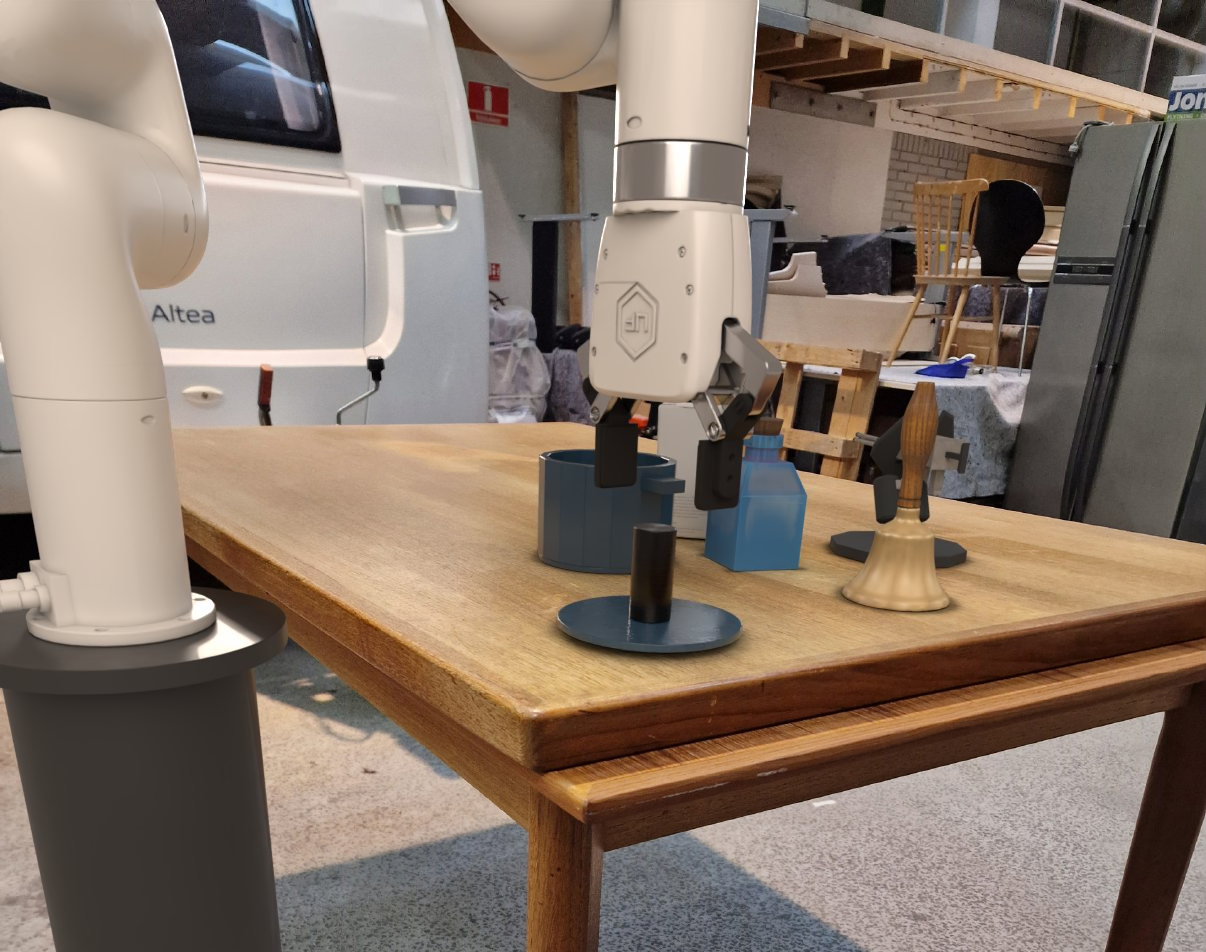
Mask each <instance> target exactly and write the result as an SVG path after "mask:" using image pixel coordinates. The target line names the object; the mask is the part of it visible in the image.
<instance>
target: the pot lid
mask: <svg viewBox="0 0 1206 952" xmlns="http://www.w3.org/2000/svg"><path fill="white" fill-rule="evenodd" d="M677 538H678V537H677V528H676V527H674V526H670V525H665V524H655V523H645V524H638V525H635V526H634V533H633V551H632V568H631V574H630V586H629V587H630V588H629V594H627V595H609V596H597V597H591V598H586V599H581V600H577V601H574V602H571V603H568V604H566V605H564V606H563V607H561V608H560V609H559V610H558V612H557V614H556V623H557V624H556V625H557V627H559V629H560V630H561V631H562V632H564V634H567V635H568V636H570V637H573V638H575V639H577V640H580V641H583V642H585V643H589V644H593V645H596V646H601V647H605V648H611V649H616V650H620V651H621V650H622V651H627V652H635V653H643V654H644V653H645V654H646V653H647V654H673V653H674V654H676V653H688V652H689V653H691V652H698V651H706V650H713V649H717V648H721V647H724V646H728V645H730V644H732V643H734V642H735V641H737V640H738V639H739V638H740V637H741V636H742V632H743V623H742V621H741V619H740V618H739V617H737V615H735V614H733V613H732V612H730V611H728V610H725V609H723V608H720V607H717V606H714V605H711V604H707V603H703V602H699V601H695V600H689V599H683V598H676V597H673V592H674V591H673V589H674V577H675V576H674V575H675V564H676V563H675V561H676V549H677Z"/></svg>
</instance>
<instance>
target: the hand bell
mask: <svg viewBox="0 0 1206 952" xmlns="http://www.w3.org/2000/svg"><path fill="white" fill-rule="evenodd" d="M936 393H937V392H936V383H935V382H934V381H917V382H916V385H915V388H914V391H913V393H912V396H911V398H910V400H909V402H908V403H907V406H906V409H905V412H904V414H903V416H904V418H903V423H902V430H901V454H902V461H903V475H902V478H901V480H902V481H901V487H900V492H899V497H900V498H899V499H898V502H897V504H898V508H897V513H896V517H895V518H894V519H893V520H892V521H890V522H888V523H886V524H880V525H879V526H878V527H877V528H876V529H875V530H874V531H875V535H874V539H873V543H872V546H871V549H870V552H869V555H868V558H867V560H866V562H864V564H863V566H862V568H861V569H860V570H859V572H858V573H857V574H856V575H855V577H853V578H852V580H851V579H850V581H849V582H846V584H845V585H844V586H843V589H841V594H842V596H843V597H844V598H846V599H848V600H849V601H851V602H854V603H857V604H859V605H863V606H866V607H870V608H876V609H882V610H890V611H902V612H927V611H934V610H935V611H936V610H940V609H944V608H947V607H948V606H949V605H950V603H951V600H950V596H949V594H948V592H947V591H946V590H945V589H944V587H943V586H942V584H941V582H940V580H939V578H938V575H937V570H936V567H935V562H934V540H935V538H936V536H935V532H934V530H933V529H931V528H929V527H928V526H927V525H925V524H924V522H922V523H921V521H920V520H919V514H920V508H919V507H920V504H921V501H920V498H921V492H922V481H923V474H924V470H925V467H926V464H927V462H928V460H929V457H930V455H931V453H932V450H933V447H934V443H935V440H936V435H937V429H938V418H939V416H940V415H939V407H938V400H937V395H936Z"/></svg>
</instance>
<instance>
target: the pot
mask: <svg viewBox="0 0 1206 952" xmlns="http://www.w3.org/2000/svg"><path fill="white" fill-rule="evenodd" d="M594 467H595V448H569V449H555V450H549V451H544V452H542V453H541V454H539V455H538V497H537V500H538V501H537V502H538V503H537V550H536V551H537V553H538V559H539V560H540V561H541V562H543V563H544V564H547V565H549V566H552V567H554V568H559V569H562V570H569V571H574V572H581V573H590V574H602V575H603V574H607V575H610V574H611V575H626V574H627V575H629V574H630V575H631V568H632V551H633V533H634V526H635V525H638V524H645V523H655V524H665V525H670V526H673V511H674V497H675V494H676V493H685V482H686V481H685V480H683V479H678V478H676V469H677V460H675V459H672V458H670V457H666V456H661V455H657V453H656V454H655V453H651V452H642V451H638V455H637V480H636V483H635V484H634V485H633V486H627V487H616V488H605V489H602V488H598V487H596V486H595V484H594Z"/></svg>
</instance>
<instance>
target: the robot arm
mask: <svg viewBox="0 0 1206 952" xmlns="http://www.w3.org/2000/svg"><path fill="white" fill-rule="evenodd" d="M446 1H447V2H448V3H449V5H450V6H451V7H452V8H453V10H454V11H455V13H457V14H458V16H459V17H460V18H461V19H462V21H463V22H464V23H465V24H466V25H467V26H468V28H469V29H470V30H471V31H472V33H474V34H475V36H476V37H478V39H479V40H480V41H481V42H482V43H484V44H485V45H486V46H487V47H488V48H489V49H490V50H492V51H493V52H494V53H495V54H496V55H498V56H499V57H500V59H502V60H503V62H504V63H505V64H506V65H507V66H508V67H509V68H510V69H511V70H513V71H514V72H515V73H516V74H517V75H518V76H519V77H520V78H522V80H524V81H525V82H527V83H529V84H530V85H532V86H534V87H536V88H539V89H541V90H545V91H548V92H554V93H556V92H557V93H569V92H570V93H571V92H579V91H586V90H590V89H596V88H601V87H606V86H612V85H616V86H615V87H616V89H615V91H616V92H615V119H614V120H615V125H614V152H613V153H614V154H613V185H612V186H613V189H612V191H613V192H612V215H609V216H606V217H605V221H604V225H603V230H602V234H601V239H600V243H599V244H600V245H599V248H598V249H599V250H598V255H597V260H596V261H597V262H596V268H595V269H596V270H595V276H594V287H593V295H592V307H591V318H590V319H591V320H590V332H589V333H590V334H589V338H588V339H587V340H586V341H585V342H584V343H583V344H581V345H580V346H579V347H578V348H577V350H576V360H577V364H578V367H579V371H580V375H581V379H582V381H583V382H582V392H583V395H584V397H585V398H586V400H587V403H588V404H589V406H590V408H589V415H588V416H589V419H590V421H591V422H592V424H595V429H594V430H595V432H594V433H595V434H594V449H595V467H594V484H595V486H596V487H598V488H602V489H605V488H616V487H627V486H633V485H634V484H635V483H636V480H637V455H638V452H639V451H638V450H639V432H640V431H639V423H638V422H630V421H632V419H633V417H634V415H635V414H636V413H637V410H638V408H640V405H641V404H642V403H643V401H646V402H647V401H649V402H659V403H664V402H665V403H688V402H690V401H691V403H692V404H693V406H694V408H695V410H696V412H697V415H698V417H699V419H700V421H701V424H702V426H703V428H704V430H705V432H706V435H707V437H708V440H699V444H698V449H697V465H696V480H695V496H694V505H695V507H696V509H698V510H702V511H709V510H718V509H727V508H734V507H736V506H737V505H738V502H739V493H740V480H741V468H742V457H743V454H744V453H743V452H744V445H743V443H744V440H746V439H749V438H751V436H752V435H753V432H754V426H755V424H756V423H757V422H758V421H759V420H760V418H761V417H764V415H765V414H766V413H767V411H768V408H769V399H771V396H772V395H773V392H774V390H775V388H776V386H777V384H778V381H779V379H780V377H781V375H782V372H783V365H782V361H780V360H779V359H778V357H776V356H775V355H774V354H773V353H771V351H770V350H769V349H767V348H766V347H765V346H764V345H762V343H760V342H759V341H758V340H757V339H756V338H755V337H754V336H753V335H752V323H753V322H752V321H753V320H752V315H753V273H752V268H753V267H752V251H751V235H750V226H749V216H748V215H745V214H744V207H745V199H746V198H745V195H746V184H747V183H746V182H747V171H748V169H747V168H748V156H749V153H748V148H749V139H750V129H751V128H750V127H751V113H752V100H753V99H752V98H753V86H754V73H755V60H756V47H757V35H758V34H757V32H758V21H759V19H758V17H759V8H760V7H759V6H760V0H446ZM0 83H3V84H5V85H7V86H10V87H13V88H17V89H20V90H22V91H26V92H30V93H33V94H36V95H39V96H43V97H46V98H47V100H48V103H49V106H50V109H49V108H43V107H34V106H22V107H10V108H6V109H2V110H0V346H1V351H2V357H3V361H4V366H5V372H6V378H7V384H8V389H9V395H10V397H11V402H12V403H11V404H12V409H13V413H14V419H15V423H16V424H15V425H16V431H17V436H18V437H17V438H18V441H19V442H18V443H19V447H20V452H21V459H22V464H23V470H24V476H25V481H26V486H27V492H28V498H29V503H30V510H31V516H32V520H33V525H34V533H35V537H36V543H37V548H38V553H39V559H33V560H29V562H28V563H29V569H30V571H26V572H18V573H17V575H16V578H11V579H2V580H0V612H1V613H4V612H13V611H21V610H22V609H30V610H29V611H28V612H27V614H26V621H27V626H28V630H29V632H30V633H32V634H33V635H34V636H35V637H38V638H40V639H42V640H45V641H49V642H53V643H58V644H64V645H72V646H86V647H118V646H133V645H144V644H152V643H159V642H165V641H170V640H175V639H179V638H183V637H186V636H190V635H193V634H196V633H198V632H201V631H203V630H205V629H207V628H208V627H210V626H211V625H212V624H213V623H214V622H215V621H216V617H217V616H216V609H215V604H214V603H213V602H212V600H210V599H208V598H207V597H205V596H202V595H199V594H196V593H192V592H191V586H192V585H191V578H190V570H189V561H188V554H187V553H188V552H187V545H186V537H185V529H184V520H183V511H182V504H181V496H180V495H181V494H180V488H179V478H178V469H177V462H176V461H177V460H176V454H175V446H174V437H173V429H172V420H171V411H170V405H169V404H170V403H169V396H168V389H167V382H166V381H167V380H166V373H165V368H164V367H165V366H164V360H163V356H162V351H161V346H160V343H159V340H158V335H157V333H156V329H155V327H154V323H153V320H152V318H151V316H150V313H149V310H148V307H147V306H146V303H145V300H144V297H143V294H142V291H145V290H148V291H149V290H150V291H151V290H161V289H162V290H163V289H167V288H170V287H173V286H176V285H178V284H179V283H182V282H183V281H185V280H186V279H188V278H189V277H190V276H191V275H192V274H193V273H194V272H195V271H196V269H197V268H198V267H199V265H200V264H201V261H202V260H203V257H204V255H205V253H206V250H207V249H206V248H207V245H208V242H209V241H208V240H209V233H210V231H209V230H210V228H209V227H210V215H209V207H208V198H207V193H206V192H207V191H206V187H205V183H204V182H205V181H204V178H203V174H202V169H201V163H200V160H199V155H198V151H197V146H196V142H195V138H194V134H193V129H192V124H191V121H190V120H191V119H190V116H189V112H188V108H187V103H186V100H185V95H184V94H185V93H184V90H183V85H182V81H181V76H180V71H179V68H178V64H177V60H176V55H175V51H174V47H173V44H172V40H171V37H170V33H169V29H168V26H167V24H166V21H165V18H164V16H163V14H162V11H161V10H160V7H159V5H158V3H157V0H0ZM141 290H142V291H141ZM717 405H722V406H721V407H722V409H723V411H724V412H723V413H722V414H721V412H720V410H719V408H718V406H717Z"/></svg>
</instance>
